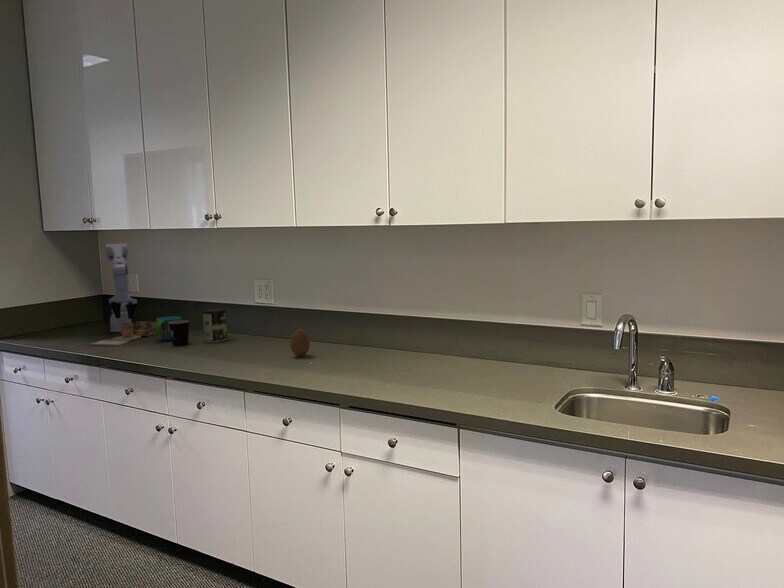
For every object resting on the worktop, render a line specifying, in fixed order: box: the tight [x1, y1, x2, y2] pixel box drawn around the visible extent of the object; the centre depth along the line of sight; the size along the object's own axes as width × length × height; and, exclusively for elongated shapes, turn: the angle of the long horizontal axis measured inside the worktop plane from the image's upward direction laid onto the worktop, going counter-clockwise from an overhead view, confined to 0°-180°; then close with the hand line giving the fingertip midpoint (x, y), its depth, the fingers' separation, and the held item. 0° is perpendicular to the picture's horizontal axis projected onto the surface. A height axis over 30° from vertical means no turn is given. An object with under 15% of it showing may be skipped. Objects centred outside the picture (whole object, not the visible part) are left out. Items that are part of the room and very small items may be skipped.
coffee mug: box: [169, 319, 190, 346], centre depth 271 cm, size 12×9×10 cm
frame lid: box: [88, 339, 130, 347], centre depth 279 cm, size 14×9×1 cm, turn 75°
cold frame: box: [120, 320, 157, 338], centre depth 300 cm, size 16×11×5 cm
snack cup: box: [155, 315, 182, 342], centre depth 284 cm, size 16×10×10 cm
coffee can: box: [201, 307, 228, 343], centre depth 279 cm, size 10×10×14 cm
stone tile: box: [110, 335, 142, 342], centre depth 288 cm, size 9×9×1 cm
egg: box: [289, 328, 311, 357], centre depth 242 cm, size 8×8×11 cm
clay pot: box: [120, 322, 134, 338], centre depth 289 cm, size 6×6×6 cm
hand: (124, 318), depth 288 cm, fingers open, 7 cm apart
